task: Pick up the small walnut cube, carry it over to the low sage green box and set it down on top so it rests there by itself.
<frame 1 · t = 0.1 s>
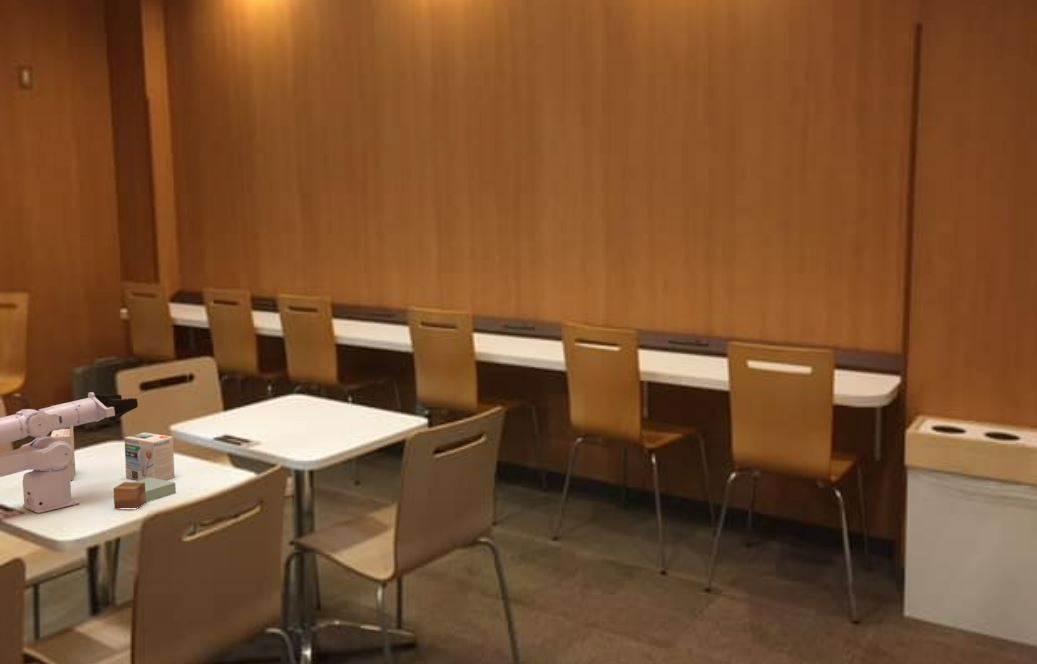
hand: (128, 400, 231), 22 cm above the table, tool horizontal, fingers open, 7 cm apart
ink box: (64, 478, 242), on the table
light bulb box: (150, 478, 242), on the table
sage green box: (147, 496, 227), on the table
walnut cube: (130, 506, 219), on the table
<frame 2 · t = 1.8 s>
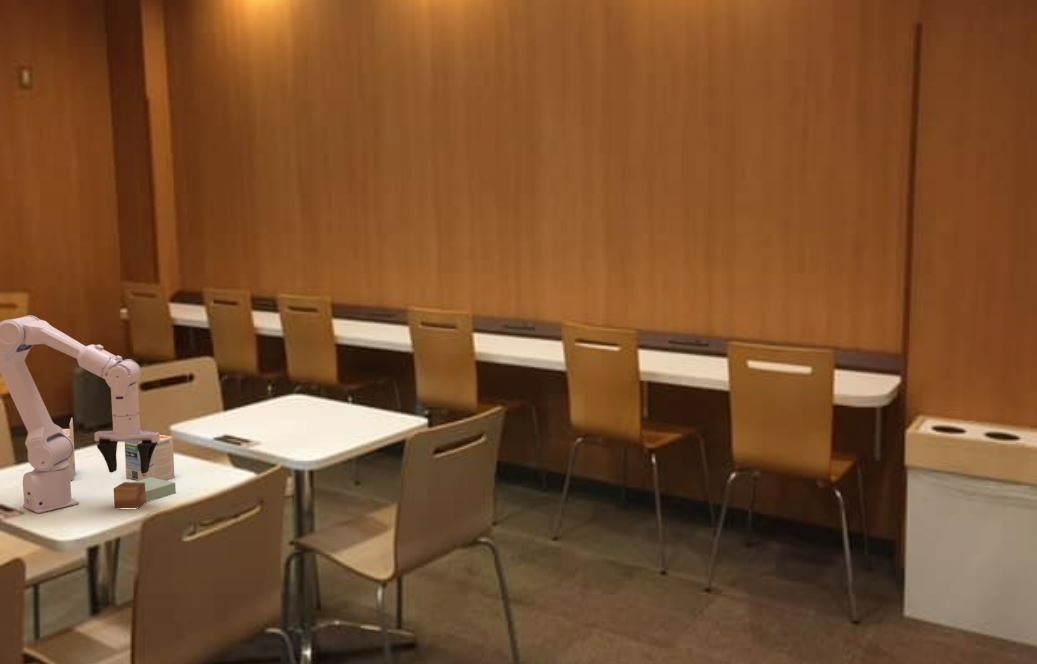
hand: (128, 471, 218), 8 cm above the table, tool pointing down, fingers open, 7 cm apart
nothing on the table moved.
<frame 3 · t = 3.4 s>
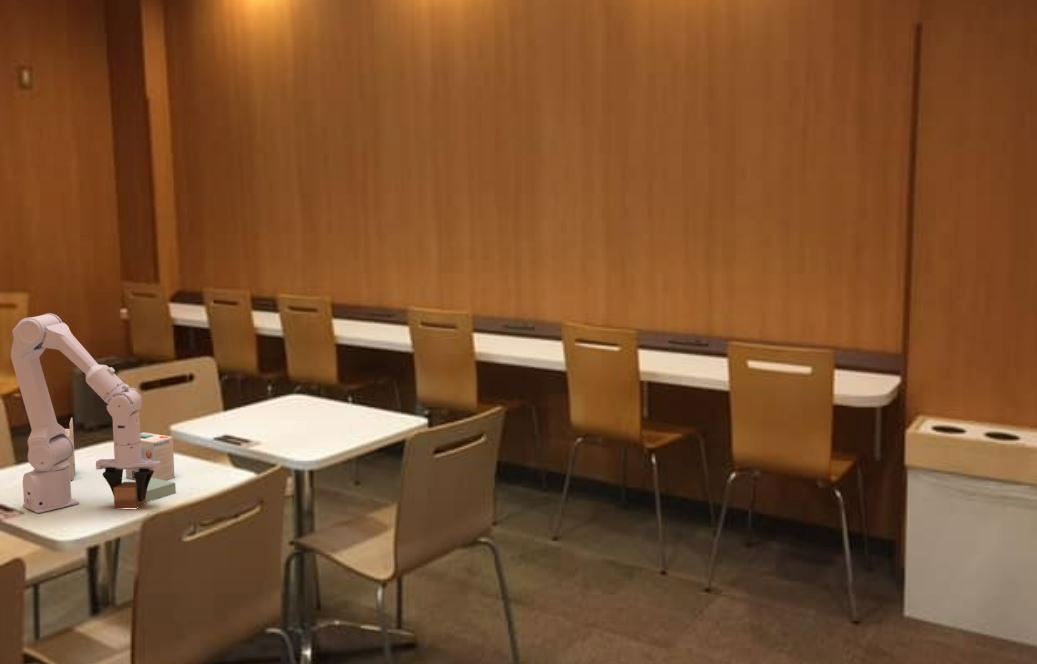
hand: (130, 499, 219), 1 cm above the table, tool pointing down, fingers closed on walnut cube, 5 cm apart
walnut cube: (130, 505, 219), on the table, touching gripper
everything else where it was.
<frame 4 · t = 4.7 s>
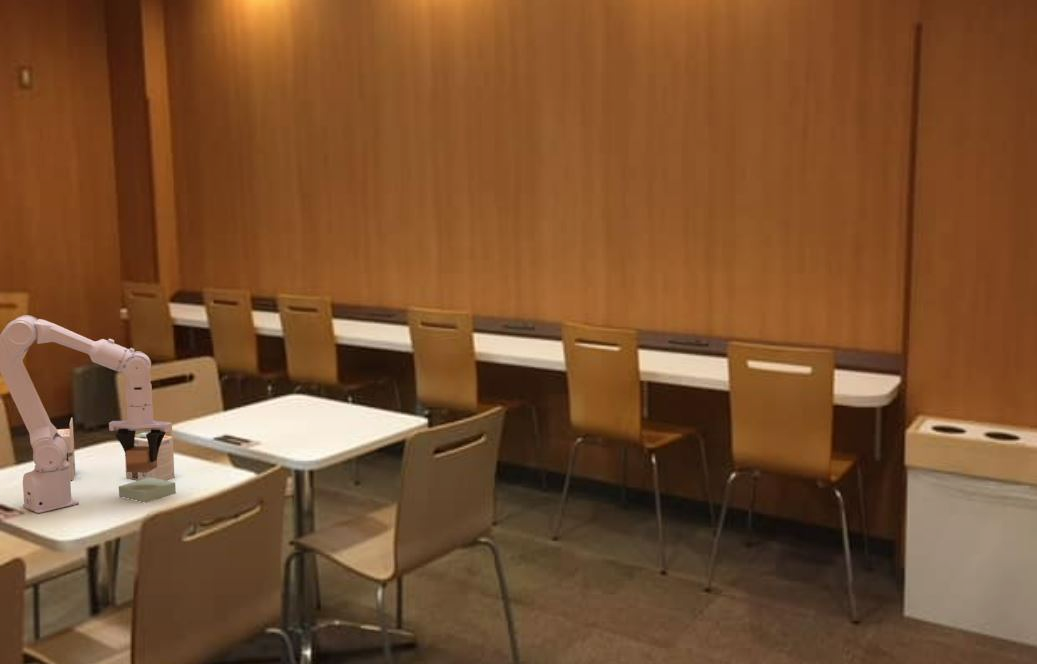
hand: (142, 460, 224), 9 cm above the table, tool pointing down, fingers closed on walnut cube, 5 cm apart
walnut cube: (142, 469, 224), point 7 cm above the table, touching gripper
everything else where it was.
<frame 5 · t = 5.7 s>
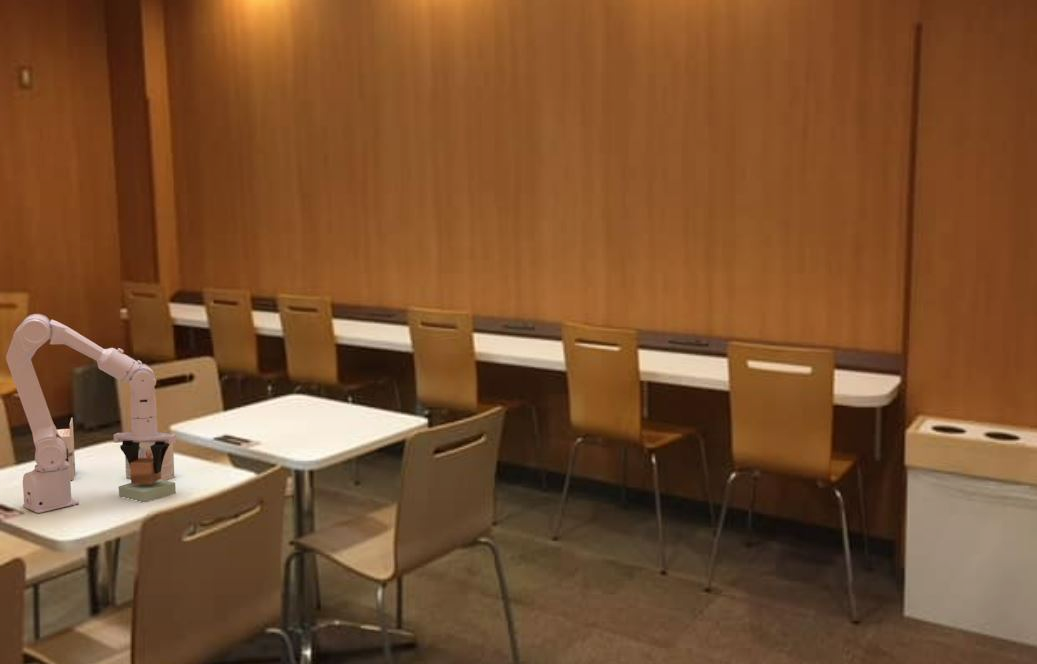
hand: (146, 472, 227), 6 cm above the table, tool pointing down, fingers closed on walnut cube, 5 cm apart
walnut cube: (146, 480, 227), point 4 cm above the table, touching gripper
everything else where it was.
when the fingers open (6 cm above the table, at t = 6.4 s): walnut cube drops 1 cm, resting on sage green box.
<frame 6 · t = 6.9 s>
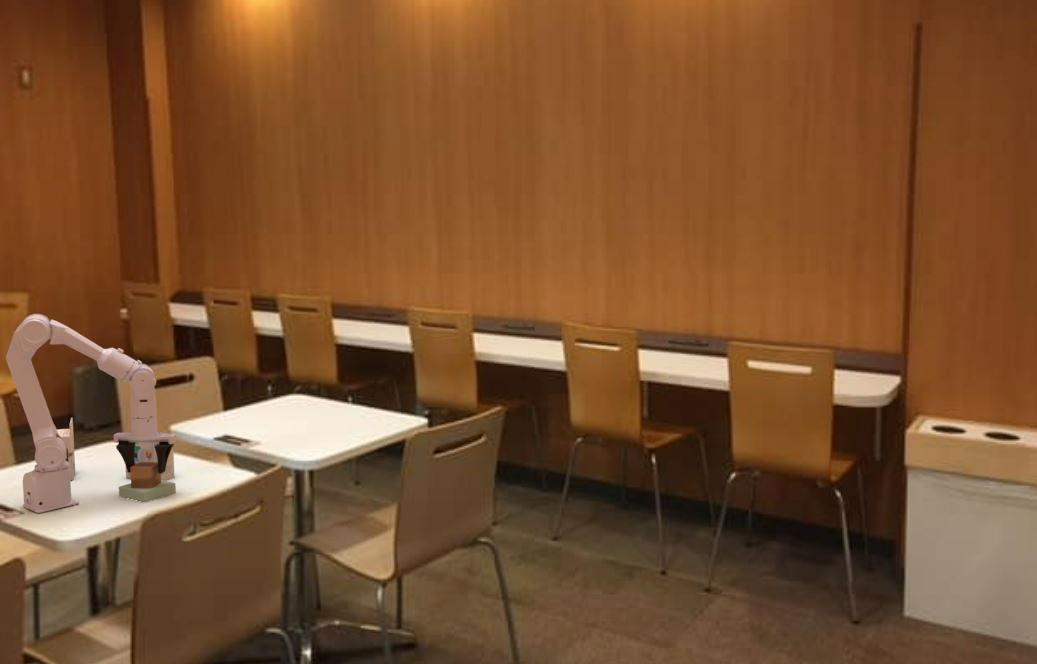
hand: (146, 472, 227), 6 cm above the table, tool pointing down, fingers open, 7 cm apart
sage green box: (147, 496, 227), on the table, touching walnut cube
walnut cube: (146, 485, 227), point 2 cm above the table, touching sage green box
everything else where it was.
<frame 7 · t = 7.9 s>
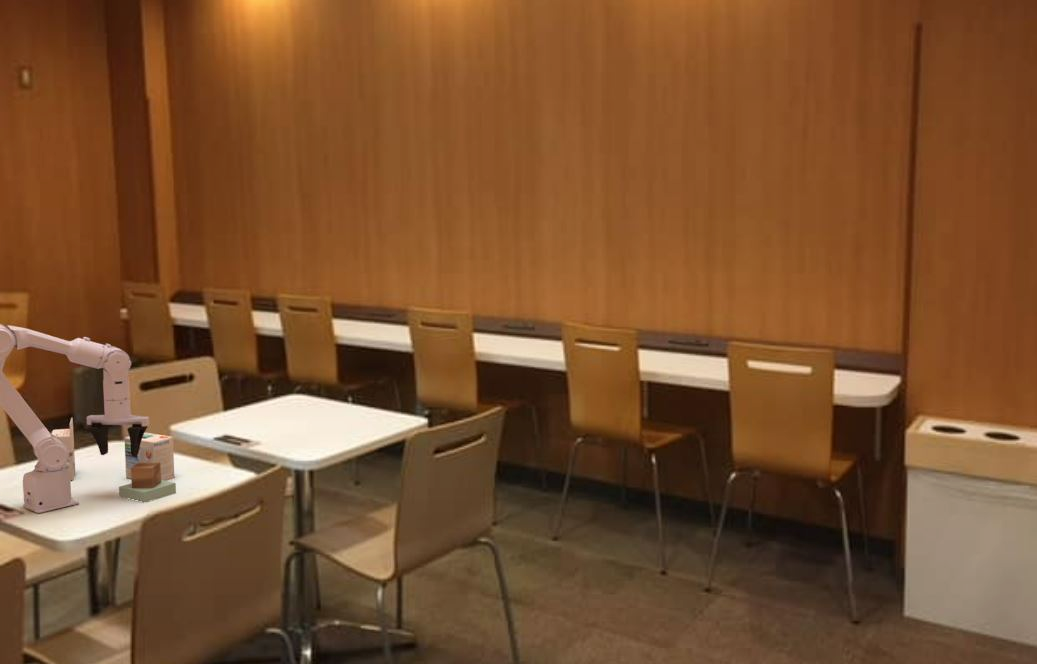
hand: (119, 454, 226), 10 cm above the table, tool pointing down, fingers open, 7 cm apart
nothing on the table moved.
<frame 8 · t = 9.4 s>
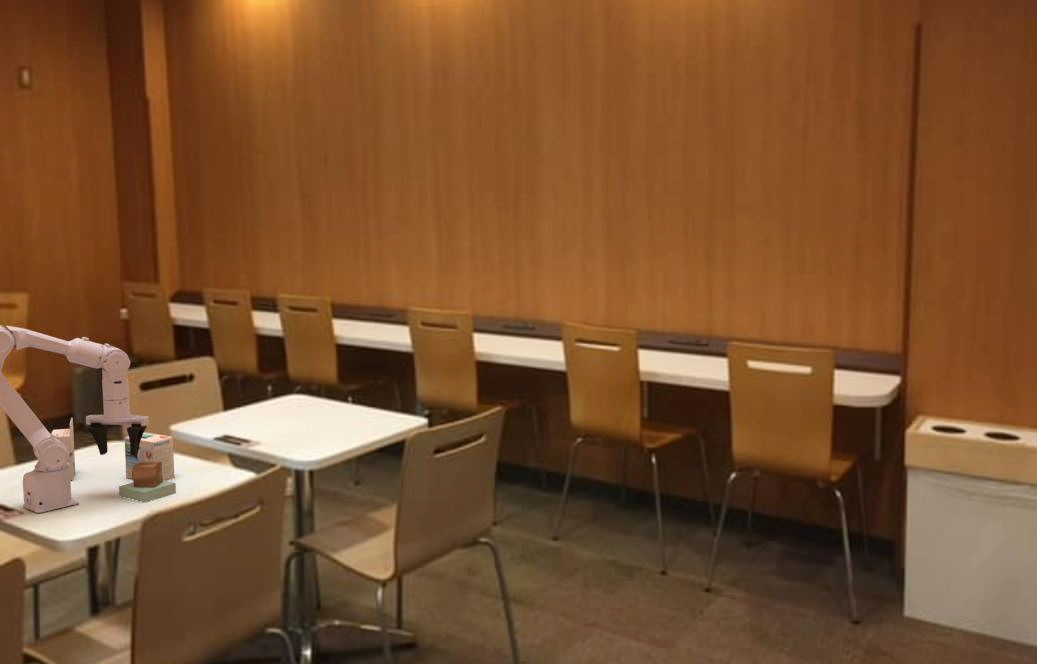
hand: (119, 454, 226), 10 cm above the table, tool pointing down, fingers open, 7 cm apart
sage green box: (147, 496, 227), on the table
walnut cube: (148, 484, 227), point 3 cm above the table
everything else where it was.
at the end: walnut cube 0.2 cm off-centre on the sage green box, point 3.0 cm above the sage green box's base; walnut cube tilted 1°; the gripper is holding nothing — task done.
